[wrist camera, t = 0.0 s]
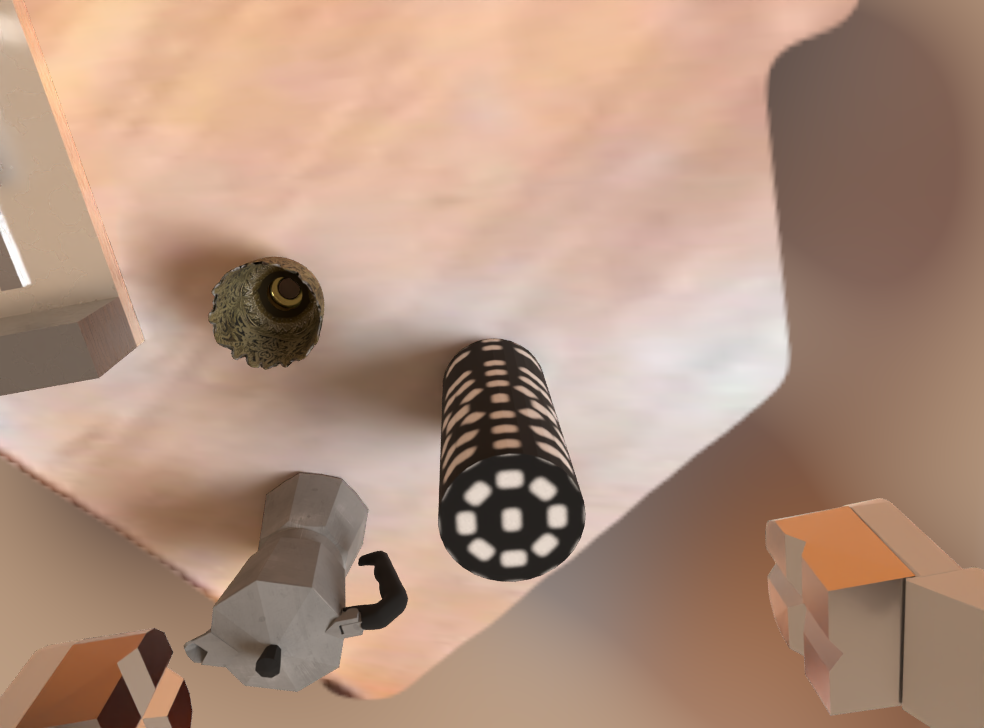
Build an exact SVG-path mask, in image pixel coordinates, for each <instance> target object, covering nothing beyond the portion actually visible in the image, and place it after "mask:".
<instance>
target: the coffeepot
mask: <svg viewBox="0 0 984 728" xmlns="http://www.w3.org/2000/svg"><path fill="white" fill-rule="evenodd" d="M367 515H368V508H367V507H366V506H365V504H364V503H363V502H362V500H361V499H360V497H359V496H358V495H357V493H356V492H355V491H354V490H353V489H352V488H351V487H350V486H349V485H347V484H346V482H345V481H344V480H343V479H340V478H336V477H331V476H327V475H323V474H305V473H299V474H297V475H296V476H294V477H293V478H291V479H289V480H287V481H285V482H283V483H282V484H281V485H280V486H278V487H277V488H276V489H274V490H273V491H271V492H270V493H268V494H267V495H266V501H265V508H264V515H263V522H262V529H261V535H260V542H259V548H258V552H256V553H255V554H254V555H252V556H251V557H250V558H249V559H248V561H247V562H246V563H245V565H244V566H243V567H242V569H241V570H240V572H239V573H238V574H237V576H236V577H235V578H234V580H233V581H232V582H231V584H230V585H229V586H228V588H227V589H226V590H225V592H224V593H223V594H222V596H221V597H220V598H219V600H218V601H217V602H216V604H215V605H214V607H213V616H212V626H211V629H210V630H208V631H207V632H206V633H205V634H203V635H201V636H199V637H197V638H195V639H193V640H191V641H189V642H187V643H186V644H185V645H184V649H185V651H186V654H187V655H188V657H189V658H190V659H191V660H192V661H193V662H196V663H202V665H211V666H219V667H226V668H227V669H228V670H229V671H230V672H231V673H232V674H233V675H234V676H235V677H236V678H237V679H238V680H240V682H241V683H242V684H244V685H245V686H253V687H262V688H270V689H279V690H287V691H295V692H297V691H300V690H301V689H303V688H304V687H306V686H308V685H310V684H311V683H313V682H315V681H316V680H318V679H320V678H321V677H323V676H325V675H327V674H328V673H330V672H332V671H333V670H335V669H337V668H338V667H339V665H340V659H341V653H342V646H343V640H344V638H348V637H353V636H358V635H362V634H363V630H375V629H381V628H384V627H386V626H387V625H388V624H389V623H391V622H392V621H393V620H394V619H395V618H396V617H398V616H399V615H400V614H401V613H402V612H403V611H404V609H405V608H406V605H407V601H408V597H407V594H406V591H405V589H404V587H403V585H402V583H401V582H400V580H399V577H398V575H397V573H396V571H395V569H394V567H393V565H392V563H391V561H390V559H389V557H388V555H387V553H385V552H383V551H376V552H373V553H369V554H366V555H363V556H361V557H360V558H359V562H358V564H359V566H364V565H374V566H375V568H374V575H375V578H376V580H377V581H378V582H379V589H380V594H381V597H382V600H381V601H379V602H378V603H376V604H370V605H358V606H351V607H345V577H346V576H347V574H348V572H349V570H350V568H351V566H352V564H353V562H354V560H355V558H356V556H357V554H358V552H359V551H360V549H361V547H362V545H363V539H364V533H365V527H366V521H367Z"/></svg>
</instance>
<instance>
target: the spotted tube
mask: <svg viewBox="0 0 984 728" xmlns="http://www.w3.org/2000/svg"><path fill="white" fill-rule="evenodd" d="M585 515H586V514H585V506H584V500H583V497H582V494H581V491H580V488H579V485H578V482H577V478H576V475H575V472H574V469H573V466H572V463H571V460H570V456H569V453H568V450H567V447H566V444H565V441H564V438H563V434H562V431H561V428H560V425H559V422H558V419H557V416H556V413H555V409H554V406H553V403H552V400H551V397H550V394H549V391H548V387H547V384H546V381H545V378H544V375H543V372H542V369H541V367H540V365H539V363H538V362H537V360H536V358H535V357H534V356H533V355H532V354H531V353H530V352H529V351H528V350H526V349H525V348H524V347H522V346H521V345H518V344H516V343H514V342H512V341H507V340H503V339H488V340H481V341H478V342H476V343H473V344H471V345H469V346H467V347H466V348H464V349H462V350H461V351H460V352H459V353H458V354H457V355H456V356H455V357H454V358H453V359H452V361H451V362H450V363H449V365H448V368H447V370H446V372H445V375H444V380H443V397H442V426H441V455H440V484H439V513H438V527H439V531H440V536H441V539H442V541H443V543H444V546H445V548H446V550H447V551H448V552H449V554H450V555H451V556H452V558H453V559H454V560H455V561H456V562H457V563H459V564H460V565H461V566H462V567H463V568H465V569H466V570H468V571H470V572H472V573H473V574H475V575H478V576H481V577H483V578H486V579H490V580H496V581H509V582H516V581H522V580H528V579H532V578H535V577H538V576H541V575H543V574H545V573H547V572H549V571H551V570H552V569H554V568H556V567H557V566H558V565H559V564H561V563H562V562H563V561H565V560H566V558H567V557H568V556H569V555H570V554H571V553H572V552H573V551H574V549H575V547H576V546H577V544H578V542H579V540H580V538H581V535H582V532H583V529H584V525H585Z"/></svg>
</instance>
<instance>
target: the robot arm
mask: <svg viewBox="0 0 984 728" xmlns="http://www.w3.org/2000/svg"><path fill="white" fill-rule="evenodd" d="M765 535H766V549H767V550H768V552H769V553H770V555H771V556H772V557H773V559H774V561H775V562H776V565H775V566H774V567H773V569H772V570H771V572H770V573H769V575H768V587H769V598H770V602H771V606H772V610H773V614H774V618H775V621H776V623H777V625H778V628H779V630H780V633H781V635H782V636H783V638H784V640H785V641H786V643H787V645H788V647H789V648H790V649H792V650H793V651H795V652H797V653H799V654H801V655H803V656H804V659H805V675H806V677H807V678H808V680H809V681H810V683H811V684H812V686H813V688H814V689H815V691H816V693H817V694H818V696H819V698H820V699H821V701H822V702H823V704H824V705H825V707H826V709H827V711H828V712H829V714H830V715H838V714H845V713H852V712H859V711H866V710H873V709H880V708H887V707H894V706H901V705H902V709H903V710H905V711H906V712H908V713H909V714H911V715H913V716H914V717H916V718H917V719H919V720H920V721H922V722H923V723H925V724H926V725H928V726H930V727H931V728H984V570H983V569H980V568H977V567H972V568H966V569H963V568H961V567H960V566H959V565H958V564H957V563H956V562H955V561H954V560H953V559H952V558H951V557H950V556H948V555H947V554H946V553H945V552H944V551H943V550H942V549H941V548H940V547H939V546H938V545H937V544H935V543H934V542H933V541H932V540H931V539H930V538H929V537H928V536H927V535H926V534H925V533H924V532H922V531H921V530H920V529H919V528H918V527H917V526H916V525H915V524H914V523H913V522H911V520H909V519H908V518H907V517H906V516H905V515H904V514H903V513H902V512H901V511H900V510H899V509H898V508H896V507H895V506H894V505H893V504H892V503H891V502H890V501H888V500H885V499H882V498H878V499H873V500H869V501H864V502H859V503H854V504H849V505H844V506H843V507H839V508H834V509H829V510H823V511H818V512H813V513H807V514H802V515H797V516H792V517H787V518H781V519H776V520H770V521H768V522H767V526H766V532H765ZM172 654H173V651H172V648H171V646H170V644H169V642H168V640H167V638H166V635H165V633H164V632H162V631H160V630H157V629H155V628H152V629H146V630H139V631H132V632H126V633H120V634H113V635H107V636H100V637H93V638H87V639H83V640H75V641H69V642H63V643H58V644H52V645H47V646H45V647H43V648H41V649H39V650H36V651H35V652H34V654H33V655H32V656H31V658H30V659H29V660H28V662H27V663H26V664H25V666H24V667H23V668H22V669H21V671H20V672H19V673H18V675H17V676H16V677H15V679H14V680H13V681H12V683H11V684H10V686H9V687H8V688H7V689H6V691H5V692H4V693H3V695H2V696H1V697H0V728H191V720H192V706H191V699H190V693H189V690H188V688H187V685H186V683H185V680H184V678H182V677H181V676H179V675H178V674H177V673H175V672H174V671H172V670H171V669H169V668H168V667H167V666H168V664H169V661H170V659H171V656H172Z"/></svg>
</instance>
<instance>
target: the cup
mask: <svg viewBox="0 0 984 728" xmlns="http://www.w3.org/2000/svg"><path fill="white" fill-rule="evenodd" d="M286 278H290V279H292V280H294V281H295V282H296V283H297V284H298V285H299V286H300V293H299V295H298V296H297V297H296V298H293V299H287V298H284V297H283V296H282V295H281V294H280V293H279V290H278V286H279V283H280V282H281V281H282V280H283V279H286ZM212 294H213V296H215V298H214V300H213V310H212V311H211V312H210V313H209V322H210V323H211V324H213V333H214V337H215V339H216V342H217V343H218V344H219V345H221V346H223V347H225V348H228V349H230V350H231V351H232V353H231V354H232V357H233V359H235V360H237V359H240V358H242V357H246V362H247V364H248V365H249V366H251V367H254V368H259V367H260V366H261V367H263V368H264V369H265V370H266V369H269V368H272V367H276V366H278V364H281V365H282V366H283V367H288V366H289V365H290V364H291V363H292V362H293V361H300V360H302V359H304V358H305V357H306V356H307V355H308V354H309V353H310V351H311V350H312V349H313V347H314V345H316V344H317V342H318V339H319V336H320V330H321V326H322V321H323V315H324V297H323V292H322V289H321V287H320V284H319V283H318V281H317V279H316V278H315V276H314V275H313V274H312V273H311V272H310V271H309V270H308V269H307V268H306V267H305V266H303V265H302V264H300V263H298V262H296V261H294V260H291V259H287V258H282V257H268V258H263V259H258V260H255V261H253V262H250V263H247V264H244V265H242V266H239V267H237V268H234V269H232V270H230V271H229V272H227V273H226V274H225V275H224V276H223V277H222V279H221V281H220V282H219V283H218V284H216V286H215V287H214V288H213V290H212Z"/></svg>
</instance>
